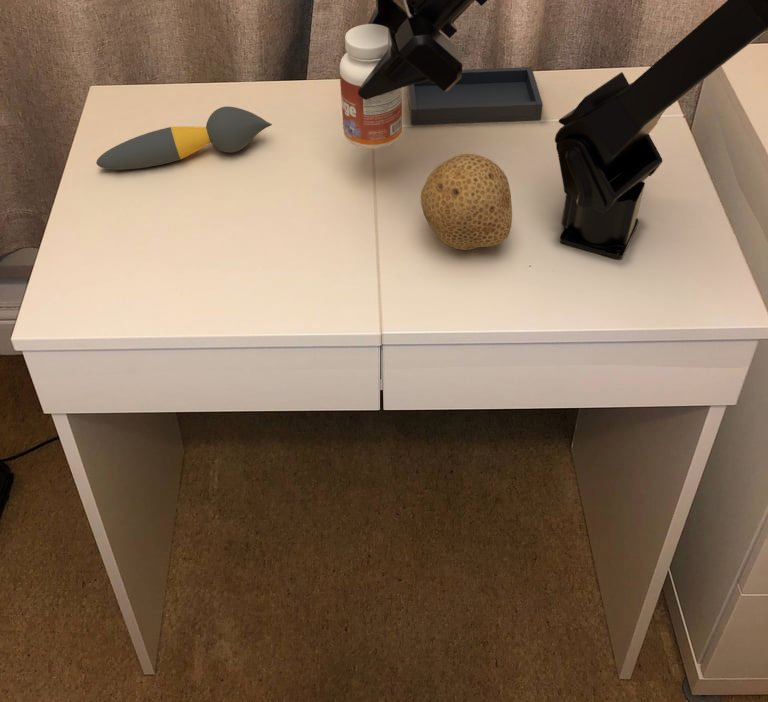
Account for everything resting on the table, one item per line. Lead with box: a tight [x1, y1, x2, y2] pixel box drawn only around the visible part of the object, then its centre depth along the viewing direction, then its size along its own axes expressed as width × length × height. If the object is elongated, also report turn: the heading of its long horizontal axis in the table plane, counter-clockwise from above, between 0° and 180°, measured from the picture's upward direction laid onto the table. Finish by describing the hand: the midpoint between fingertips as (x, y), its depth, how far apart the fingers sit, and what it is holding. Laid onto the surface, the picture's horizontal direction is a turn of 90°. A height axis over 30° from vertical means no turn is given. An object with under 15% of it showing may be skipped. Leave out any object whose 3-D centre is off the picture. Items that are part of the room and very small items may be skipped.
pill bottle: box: [339, 23, 403, 150], centre depth 87 cm, size 6×6×11 cm
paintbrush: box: [95, 105, 273, 170], centre depth 97 cm, size 20×5×5 cm, turn 111°
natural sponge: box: [420, 153, 513, 251], centre depth 85 cm, size 9×9×10 cm
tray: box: [406, 66, 544, 126], centre depth 105 cm, size 15×8×2 cm, turn 92°
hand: (357, 78), depth 87 cm, fingers closed on pill bottle, 6 cm apart
